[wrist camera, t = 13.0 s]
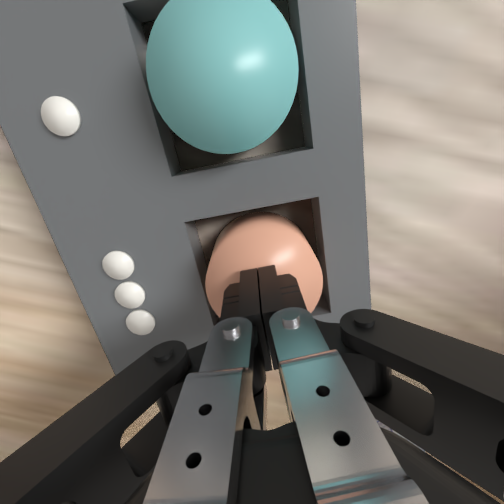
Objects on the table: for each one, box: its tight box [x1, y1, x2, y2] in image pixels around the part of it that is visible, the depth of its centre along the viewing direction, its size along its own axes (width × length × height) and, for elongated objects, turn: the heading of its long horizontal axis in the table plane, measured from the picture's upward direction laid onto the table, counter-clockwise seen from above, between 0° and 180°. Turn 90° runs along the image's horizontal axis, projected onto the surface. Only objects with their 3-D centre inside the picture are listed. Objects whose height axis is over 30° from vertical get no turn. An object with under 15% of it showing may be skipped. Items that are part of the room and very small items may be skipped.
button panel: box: [0, 0, 371, 376], centre depth 12 cm, size 14×26×2 cm, turn 11°
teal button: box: [146, 0, 299, 154], centre depth 11 cm, size 5×5×3 cm
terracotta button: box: [205, 212, 323, 317], centre depth 14 cm, size 5×5×3 cm
